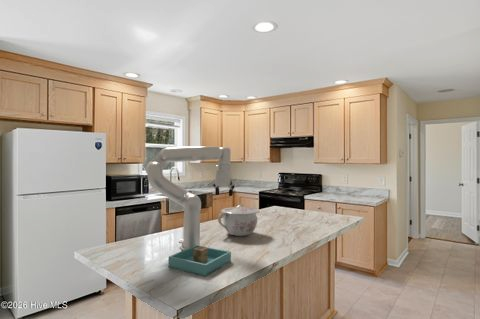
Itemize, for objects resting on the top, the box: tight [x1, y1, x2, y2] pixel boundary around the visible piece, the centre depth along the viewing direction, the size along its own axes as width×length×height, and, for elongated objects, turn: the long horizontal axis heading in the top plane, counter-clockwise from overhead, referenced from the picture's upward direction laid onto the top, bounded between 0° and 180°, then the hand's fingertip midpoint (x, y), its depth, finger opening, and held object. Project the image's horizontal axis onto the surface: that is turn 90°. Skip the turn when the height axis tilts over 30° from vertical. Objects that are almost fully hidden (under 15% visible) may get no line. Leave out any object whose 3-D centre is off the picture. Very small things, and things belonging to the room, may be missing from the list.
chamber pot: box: [217, 204, 260, 237], centre depth 203 cm, size 28×28×21 cm
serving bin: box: [167, 245, 232, 277], centre depth 143 cm, size 22×22×5 cm
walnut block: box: [193, 246, 209, 264], centre depth 143 cm, size 5×5×7 cm
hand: (224, 195), depth 177 cm, fingers open, 9 cm apart
